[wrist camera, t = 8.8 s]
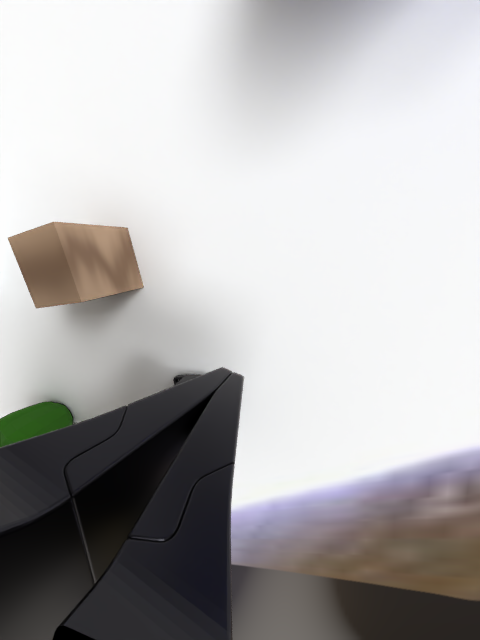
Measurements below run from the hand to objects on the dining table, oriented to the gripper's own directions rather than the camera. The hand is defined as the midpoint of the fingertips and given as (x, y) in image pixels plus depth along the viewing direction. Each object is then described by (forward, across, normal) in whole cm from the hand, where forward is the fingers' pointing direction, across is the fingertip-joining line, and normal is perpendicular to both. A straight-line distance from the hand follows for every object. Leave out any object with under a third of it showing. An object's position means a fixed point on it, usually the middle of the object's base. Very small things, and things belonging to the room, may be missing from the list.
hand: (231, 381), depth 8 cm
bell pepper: (+10, +30, +30) cm, 44 cm away
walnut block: (+12, +19, +3) cm, 23 cm away
